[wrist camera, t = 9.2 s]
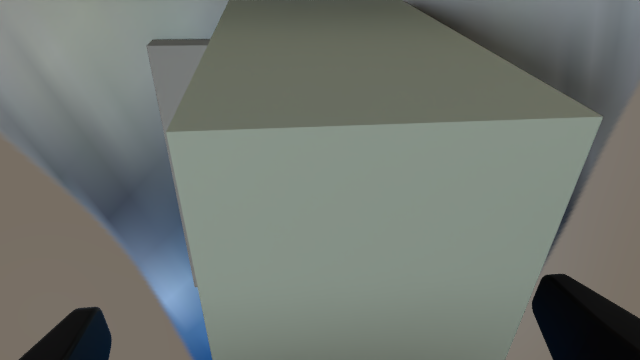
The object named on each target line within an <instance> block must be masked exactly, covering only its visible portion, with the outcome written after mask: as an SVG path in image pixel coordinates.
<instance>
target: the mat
mask: <svg viewBox="0 0 640 360" xmlns="http://www.w3.org/2000/svg"><path fill="white" fill-rule="evenodd" d="M209 41H210V39H186V40H152V41H151V42H150V43H149V44H148V45H147V51H148V56H149V61H150V66H151V71H152V76H153V81H154V86H155V91H156V96H157V101H158V106H159V111H160V116H161V121H162V125H163V130H164V135H165V140H166V145H167V150H168V155H169V160H170V165H171V170H172V175H173V180H174V185H175V190H176V195H177V200H178V205H179V210H180V215H181V220H182V225H183V230H184V235H185V240H186V245H187V250H188V255H189V260H190V265H191V270H192V275H193V280H194V285H195V287H198V286H197V281H196V276H195V271H194V266H193V262H192V257H191V252H190V247H189V242H188V237H187V232H186V227H185V222H184V218H183V213H182V208H181V203H180V198H179V193H178V188H177V183H176V178H175V174H174V169H173V164H172V159H171V154H170V149H169V144H168V139H167V134H166V131H167V129H168V127H169V125H170V123H171V121H172V119H173V116H174V114H175V112H176V110H177V108H178V106H179V104H180V102H181V100H182V98H183V96H184V94H185V91H186V89H187V87H188V85H189V83H190V81H191V79H192V77H193V75H194V73H195V71H196V69H197V66H198V64H199V62H200V60H201V58H202V56H203V54H204V52H205V50H206V48H207V46H208V44H209Z"/></svg>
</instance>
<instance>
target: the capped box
mask: <svg viewBox="0 0 640 360" xmlns="http://www.w3.org/2000/svg"><path fill="white" fill-rule="evenodd" d="M602 119H603V116H601V115H599V114H598V113H596V112H594V111H593V110H591V109H589V108H587V107H586V106H584V105H582V104H580V103H579V102H577V101H575V100H574V99H572V98H570V97H568V96H567V95H565V94H563V93H561V92H560V91H558V90H556V89H555V88H553V87H551V86H549V85H548V84H546V83H544V82H542V81H541V80H539V79H537V78H535V77H534V76H532V75H530V74H529V73H527V72H525V71H523V70H522V69H520V68H518V67H516V66H515V65H513V64H511V63H510V62H508V61H506V60H504V59H503V58H501V57H499V56H497V55H496V54H494V53H492V52H491V51H489V50H487V49H485V48H484V47H482V46H480V45H478V44H477V43H475V42H473V41H472V40H470V39H468V38H466V37H465V36H463V35H461V34H459V33H458V32H456V31H454V30H452V29H451V28H449V27H447V26H446V25H444V24H442V23H440V22H439V21H437V20H435V19H433V18H432V17H430V16H428V15H427V14H425V13H423V12H421V11H420V10H418V9H416V8H414V7H413V6H411V5H409V4H408V3H406V2H404V1H402V0H229V2H228V4H227V6H226V8H225V10H224V12H223V14H222V16H221V19H220V21H219V23H218V25H217V27H216V29H215V31H214V33H213V35H212V37H211V39H210V41H209V44H208V46H207V48H206V50H205V52H204V54H203V56H202V58H201V60H200V62H199V64H198V66H197V69H196V71H195V73H194V75H193V77H192V79H191V81H190V83H189V85H188V87H187V89H186V91H185V94H184V96H183V98H182V100H181V102H180V104H179V106H178V108H177V110H176V112H175V114H174V116H173V119H172V121H171V123H170V125H169V127H168V129H167V131H166V134H167V139H168V144H169V149H170V154H171V159H172V164H173V169H174V174H175V178H176V183H177V188H178V193H179V198H180V203H181V208H182V213H183V218H184V222H185V227H186V232H187V237H188V242H189V247H190V252H191V257H192V262H193V266H194V271H195V276H196V281H197V286H198V291H199V296H200V301H201V306H202V311H203V315H204V320H205V325H206V330H207V335H208V340H209V345H210V350H211V355H212V359H213V360H505V358H506V356H507V354H508V351H509V349H510V346H511V344H512V341H513V338H514V336H515V334H516V331H517V329H518V326H519V324H520V322H521V319H522V317H523V314H524V312H525V308H526V306H527V304H528V302H529V299H530V297H531V294H532V291H533V289H534V287H535V284H536V282H537V279H538V277H539V274H540V272H541V270H542V267H543V265H544V262H545V260H546V257H547V255H548V252H549V250H550V247H551V245H552V242H553V240H554V237H555V235H556V232H557V230H558V227H559V225H560V222H561V220H562V218H563V215H564V213H565V210H566V208H567V205H568V203H569V200H570V198H571V195H572V193H573V190H574V188H575V185H576V183H577V180H578V178H579V175H580V173H581V171H582V168H583V166H584V163H585V161H586V158H587V156H588V153H589V151H590V148H591V146H592V143H593V141H594V138H595V136H596V133H597V131H598V128H599V126H600V123H601V121H602Z"/></svg>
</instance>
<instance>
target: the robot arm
mask: <svg viewBox="0 0 640 360" xmlns="http://www.w3.org/2000/svg"><path fill="white" fill-rule="evenodd" d="M532 309H533V313H534V315H535V318H536V320H537V323H538V325H539V327H540V330H541V332H542V335H543V337H544V339H545V342H546V344H547V346H548V349H549V351H550V353H551V356H552V358H553V360H640V318H638V317H636V316H635V315H633V314H631V313H630V312H628V311H626V310H625V309H623V308H621V307H620V306H618V305H616V304H615V303H613V302H611V301H609V300H608V299H606V298H604V297H603V296H601V295H599V294H597V293H596V292H594V291H593V290H591V289H589V288H588V287H586V286H584V285H583V284H581V283H579V282H577V281H576V280H574V279H572V278H571V277H569V276H567V275H565V274H551V275H545V276H544V277H543V278H542V279H541V281H540V284H539V286H538V288H537V291H536V293H535V296H534V298H533V301H532ZM110 348H111V334H110V331H109V328H108V325H107V323H106V320H105V318H104V315H103V313H102V311H101V309H100V308H98V307H87V308H78V309H75V310H74V311H72V312H71V313H70V314H69V315H68V316H66V317H65V318H64V319H63V320H62V321H61V322H60V323H59V324H58V325H56V326H55V327H54V328H53V329H52V330H51V331H50V332H49V333H48V334H47V335H46V336H44V337H43V338H42V339H41V340H40V341H39V342H38V343H37V344H35V345H34V346H33V347H32V348H31V349H30V350H29V351H28V352H27V353H25V354H24V355H23V356H22V357H21V358H20V359H19V360H108V359H109V354H110Z"/></svg>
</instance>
